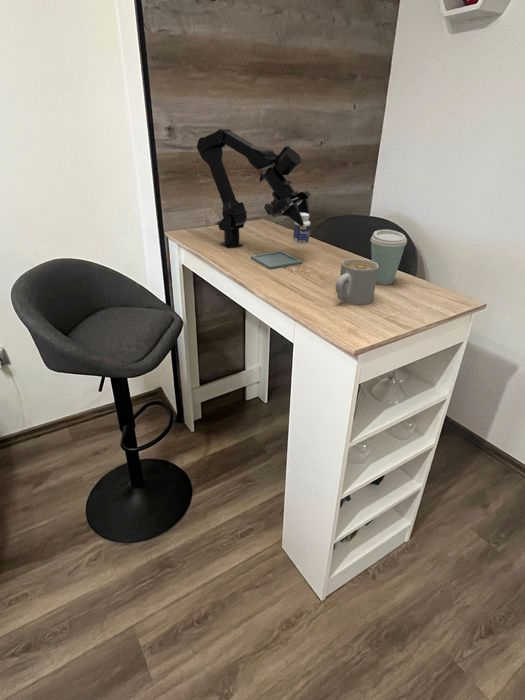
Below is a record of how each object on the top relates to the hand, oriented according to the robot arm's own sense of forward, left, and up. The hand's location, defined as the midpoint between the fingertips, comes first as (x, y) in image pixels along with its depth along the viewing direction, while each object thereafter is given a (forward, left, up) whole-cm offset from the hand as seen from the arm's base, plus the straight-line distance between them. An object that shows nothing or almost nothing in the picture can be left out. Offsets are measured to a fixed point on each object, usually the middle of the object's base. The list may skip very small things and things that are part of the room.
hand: (306, 223), depth 141 cm
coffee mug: (+33, -7, -13) cm, 36 cm away
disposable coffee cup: (+27, +11, -13) cm, 32 cm away
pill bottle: (-1, -1, -7) cm, 7 cm away
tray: (-5, -8, -13) cm, 16 cm away
